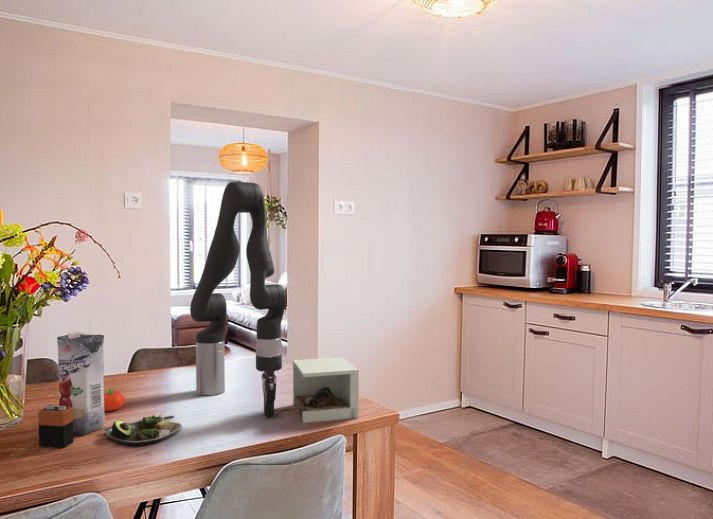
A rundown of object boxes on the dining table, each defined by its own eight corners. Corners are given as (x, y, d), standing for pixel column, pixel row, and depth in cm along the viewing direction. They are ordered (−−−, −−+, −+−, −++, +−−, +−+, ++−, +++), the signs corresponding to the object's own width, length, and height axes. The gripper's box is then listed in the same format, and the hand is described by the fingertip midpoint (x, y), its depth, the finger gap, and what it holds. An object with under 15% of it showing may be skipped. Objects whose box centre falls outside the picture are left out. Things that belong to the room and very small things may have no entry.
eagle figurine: (333, 411, 159) (337, 397, 168) (319, 392, 158) (324, 378, 167) (312, 423, 161) (317, 408, 170) (298, 405, 160) (304, 391, 168)
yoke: (266, 423, 151) (266, 399, 151) (261, 408, 165) (261, 385, 165) (344, 416, 158) (344, 392, 157) (333, 402, 171) (333, 380, 171)
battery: (50, 440, 139) (49, 402, 138) (74, 442, 138) (73, 403, 137) (37, 447, 134) (37, 407, 134) (62, 449, 133) (62, 408, 133)
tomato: (107, 416, 159) (103, 395, 159) (95, 410, 165) (92, 390, 164) (130, 408, 165) (127, 387, 164) (119, 402, 170) (116, 382, 169)
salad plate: (153, 417, 158) (153, 401, 158) (198, 427, 150) (198, 411, 149) (93, 439, 141) (93, 421, 141) (140, 452, 133) (140, 433, 132)
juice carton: (83, 421, 153) (82, 326, 152) (109, 427, 148) (108, 329, 147) (54, 431, 145) (52, 331, 144) (80, 438, 140) (78, 334, 139)
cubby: (303, 422, 153) (303, 373, 152) (293, 404, 169) (293, 360, 169) (358, 417, 157) (358, 369, 156) (343, 400, 174) (343, 357, 173)
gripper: (253, 349, 164) (253, 405, 164) (258, 358, 150) (258, 420, 151) (278, 347, 166) (278, 403, 166) (285, 357, 152) (285, 418, 153)
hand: (269, 411), depth 159 cm, fingers closed on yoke, 3 cm apart
